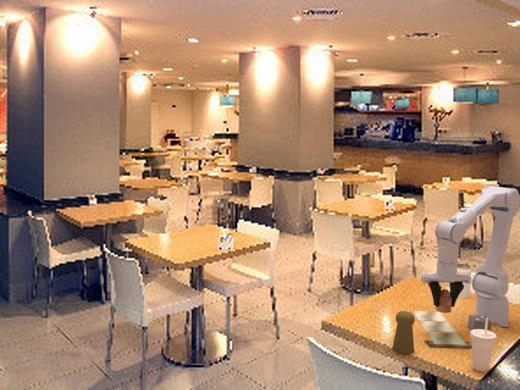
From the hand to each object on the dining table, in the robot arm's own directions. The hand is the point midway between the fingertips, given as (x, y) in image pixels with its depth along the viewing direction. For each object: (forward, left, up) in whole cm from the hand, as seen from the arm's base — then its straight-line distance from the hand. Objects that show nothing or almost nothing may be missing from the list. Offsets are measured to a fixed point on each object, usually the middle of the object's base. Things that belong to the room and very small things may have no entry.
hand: (443, 305), depth 165 cm
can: (-17, -37, -10) cm, 42 cm away
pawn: (0, 0, -1) cm, 1 cm away
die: (-12, -3, -10) cm, 16 cm away
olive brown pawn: (+14, +11, -10) cm, 20 cm away
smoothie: (-4, +21, -10) cm, 23 cm away
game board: (0, -5, -10) cm, 11 cm away
